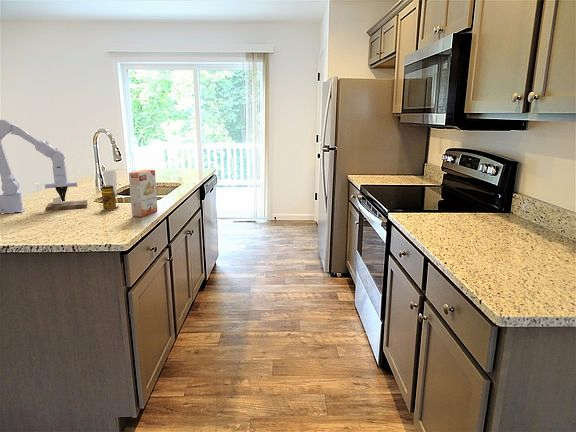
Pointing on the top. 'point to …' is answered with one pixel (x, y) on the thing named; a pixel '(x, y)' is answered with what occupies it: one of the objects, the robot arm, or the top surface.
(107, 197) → the condiment
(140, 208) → the cracker box
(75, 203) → the fader board
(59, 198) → the fader tab
